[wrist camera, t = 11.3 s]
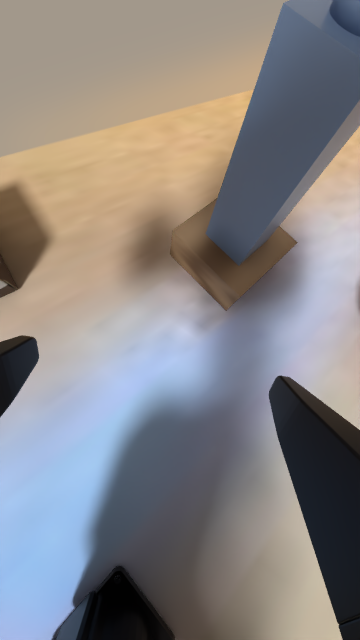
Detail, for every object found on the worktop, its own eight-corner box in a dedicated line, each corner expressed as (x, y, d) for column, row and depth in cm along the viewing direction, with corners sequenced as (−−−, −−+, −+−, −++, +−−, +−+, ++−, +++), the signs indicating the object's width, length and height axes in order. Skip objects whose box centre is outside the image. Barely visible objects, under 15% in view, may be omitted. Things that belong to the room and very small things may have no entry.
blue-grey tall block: (267, 239, 21) (468, -10, 7) (238, 265, 20) (414, 24, 6) (235, 210, 21) (368, -72, 8) (205, 234, 20) (301, -50, 7)
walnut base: (275, 263, 25) (297, 242, 21) (226, 310, 23) (240, 296, 19) (222, 214, 26) (233, 186, 22) (170, 254, 24) (172, 230, 20)
